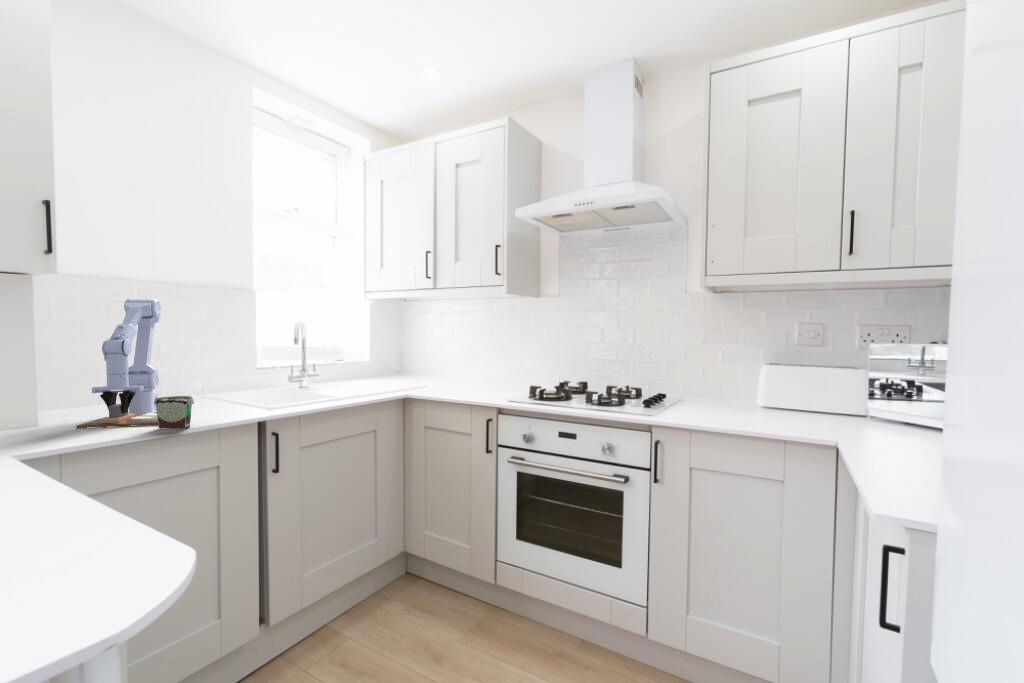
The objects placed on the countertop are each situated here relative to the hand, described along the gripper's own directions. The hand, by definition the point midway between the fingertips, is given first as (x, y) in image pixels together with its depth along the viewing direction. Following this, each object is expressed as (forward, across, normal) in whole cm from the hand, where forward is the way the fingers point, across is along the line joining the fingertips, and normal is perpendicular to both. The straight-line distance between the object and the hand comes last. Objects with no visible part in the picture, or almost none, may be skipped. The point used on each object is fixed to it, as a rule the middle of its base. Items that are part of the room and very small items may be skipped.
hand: (118, 413), depth 158 cm
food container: (+4, +24, -11) cm, 27 cm away
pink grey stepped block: (+2, 0, 0) cm, 2 cm away
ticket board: (+3, +4, 0) cm, 5 cm away
